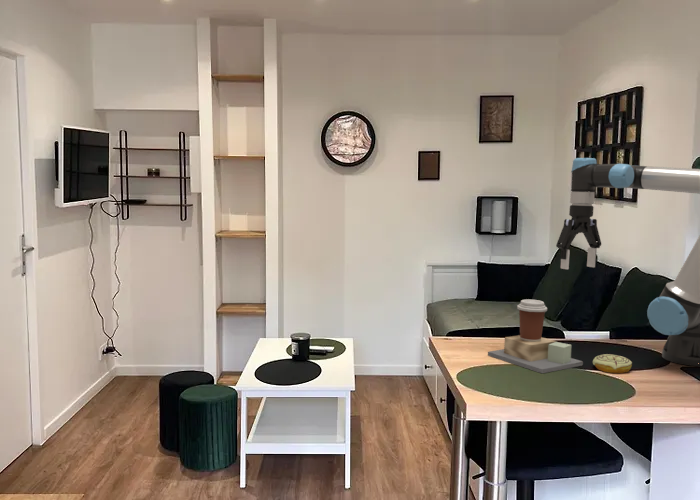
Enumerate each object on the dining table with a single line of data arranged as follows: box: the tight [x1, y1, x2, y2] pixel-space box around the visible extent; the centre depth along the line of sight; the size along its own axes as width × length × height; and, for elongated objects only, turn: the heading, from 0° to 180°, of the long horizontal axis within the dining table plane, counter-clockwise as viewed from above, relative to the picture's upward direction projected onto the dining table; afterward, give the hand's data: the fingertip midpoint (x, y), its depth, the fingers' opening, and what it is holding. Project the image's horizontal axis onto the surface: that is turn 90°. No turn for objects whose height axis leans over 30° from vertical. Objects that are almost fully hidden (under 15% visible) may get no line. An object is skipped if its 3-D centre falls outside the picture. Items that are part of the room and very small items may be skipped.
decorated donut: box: [592, 353, 633, 374], centre depth 196 cm, size 10×11×4 cm
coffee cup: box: [516, 298, 548, 342], centre depth 204 cm, size 9×9×12 cm
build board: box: [487, 348, 584, 374], centre depth 204 cm, size 22×18×1 cm
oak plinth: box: [503, 334, 557, 361], centre depth 205 cm, size 11×11×5 cm
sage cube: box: [548, 341, 572, 364], centre depth 199 cm, size 5×5×5 cm
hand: (577, 268), depth 221 cm, fingers open, 13 cm apart
